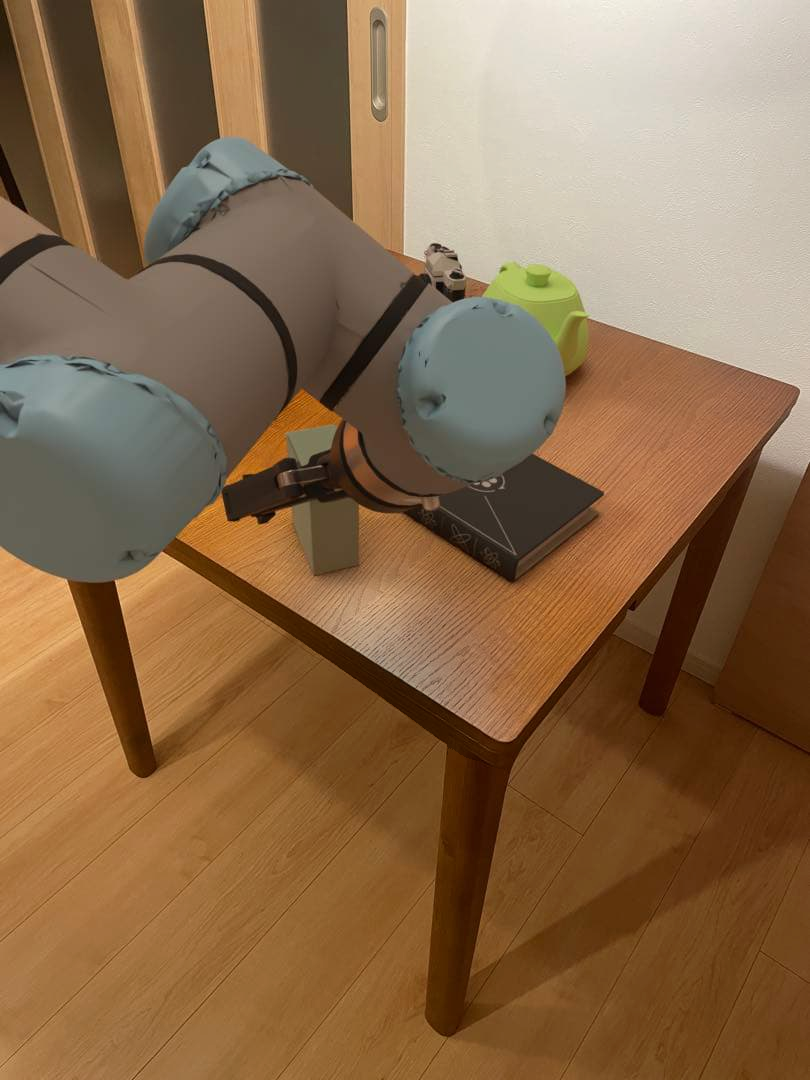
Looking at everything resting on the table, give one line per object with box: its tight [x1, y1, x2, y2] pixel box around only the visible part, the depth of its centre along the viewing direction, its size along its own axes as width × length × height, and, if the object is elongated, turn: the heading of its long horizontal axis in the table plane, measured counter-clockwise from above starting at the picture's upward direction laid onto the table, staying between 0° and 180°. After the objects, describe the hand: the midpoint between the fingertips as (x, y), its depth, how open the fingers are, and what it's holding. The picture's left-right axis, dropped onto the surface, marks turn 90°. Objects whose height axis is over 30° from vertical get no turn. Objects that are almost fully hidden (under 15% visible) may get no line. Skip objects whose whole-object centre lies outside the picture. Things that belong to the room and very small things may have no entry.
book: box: [404, 453, 605, 583], centre depth 84 cm, size 22×15×3 cm
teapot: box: [481, 262, 590, 377], centre depth 101 cm, size 22×15×13 cm
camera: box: [408, 242, 468, 310], centre depth 115 cm, size 13×8×9 cm, turn 17°
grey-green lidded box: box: [285, 424, 360, 576], centre depth 75 cm, size 5×8×12 cm, turn 20°
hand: (337, 492), depth 69 cm, fingers open, 13 cm apart
